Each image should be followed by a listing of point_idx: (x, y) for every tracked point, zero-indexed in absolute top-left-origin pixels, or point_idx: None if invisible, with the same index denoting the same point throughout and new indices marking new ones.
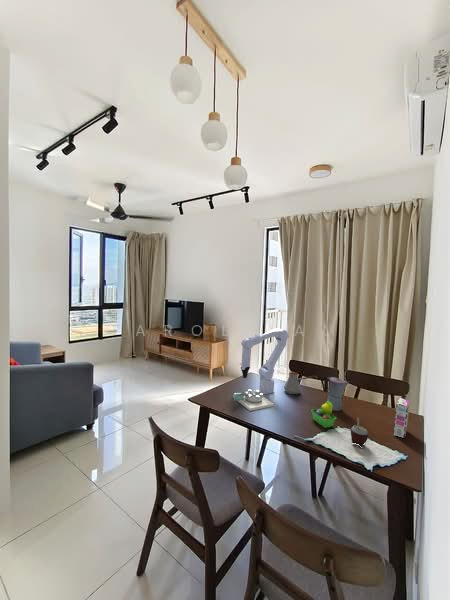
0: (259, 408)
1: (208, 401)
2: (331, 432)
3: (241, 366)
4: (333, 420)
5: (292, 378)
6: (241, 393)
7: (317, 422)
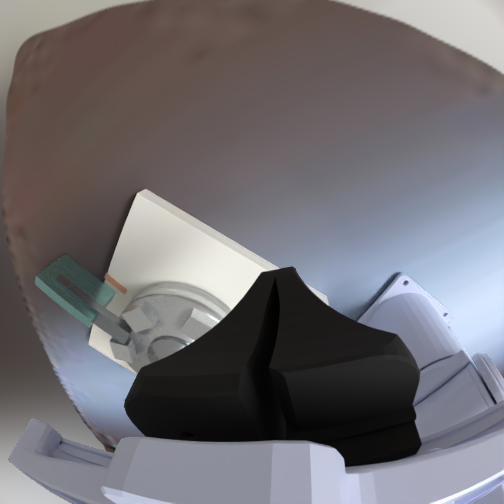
0: None
1: (23, 114)
2: None
3: (235, 398)
4: None
5: None
6: (72, 314)
7: None
